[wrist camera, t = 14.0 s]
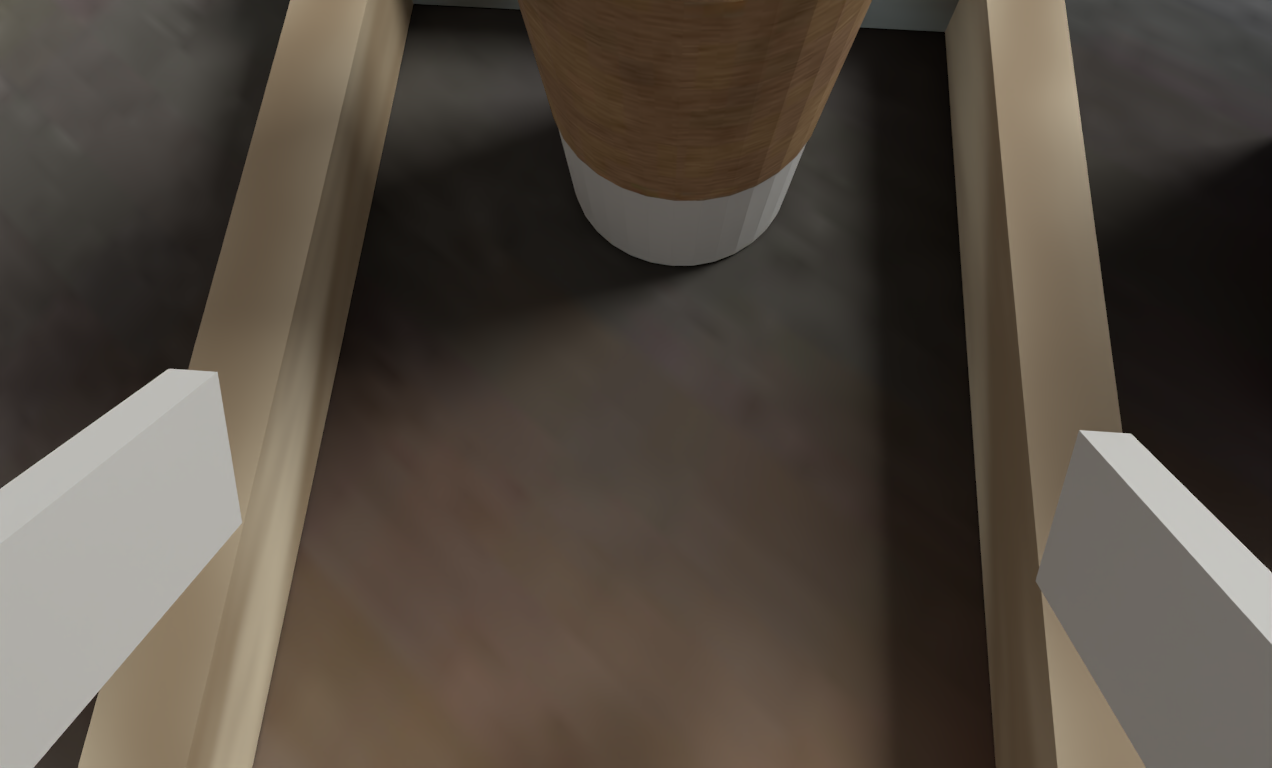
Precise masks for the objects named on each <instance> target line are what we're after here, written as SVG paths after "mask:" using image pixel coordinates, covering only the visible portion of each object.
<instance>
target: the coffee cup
mask: <svg viewBox="0 0 1272 768" xmlns="http://www.w3.org/2000/svg"><path fill="white" fill-rule="evenodd" d="M871 1H872V0H518V3H519V7H520V10H521V13H522V16H523V20H524V23H525V26H526V29H527V33H528V36H529V39H530V42H531V46H532V49H533V52H534V56H535V59H536V62H537V65H538V69H539V72H540V75H541V78H542V82H543V85H544V88H545V91H546V95H547V98H548V101H549V105H550V108H551V111H552V114H553V118H554V120H555V122H556V124H557V126H558V129H559V133H560V137H561V141H562V144H563V148H564V152H565V156H566V160H567V163H568V167H569V171H570V175H571V179H572V182H573V186H574V190H575V193H576V196H577V199H578V201H579V203H580V206H581V208H582V210H583V212H584V214H585V216H586V218H587V219H588V220H589V222H590V223H591V224H592V225H593V227H594V228H595V229H596V231H597V232H598V233H599V234H601V235H602V236H603V237H604V238H605V239H606V240H607V241H609V242H610V243H611V244H612V245H614V246H615V247H617V248H619V249H620V250H622V251H624V252H626V253H627V254H629V255H631V256H634V257H637V258H640V259H642V260H645V261H648V262H652V263H658V264H664V265H670V266H694V265H699V264H705V263H710V262H715V261H717V260H720V259H723V258H725V257H728V256H730V255H733V254H735V253H737V252H738V251H740V250H742V249H743V248H745V247H746V246H748V245H750V244H751V243H752V242H753V241H755V240H756V239H757V238H758V237H759V236H760V235H761V234H762V233H763V232H764V231H765V230H766V229H767V228H768V226H769V225H770V223H771V222H772V221H773V219H774V218H775V216H776V215H777V213H778V211H779V209H780V207H781V204H782V202H783V200H784V197H785V195H786V192H787V190H788V187H789V185H790V182H791V180H792V177H793V175H794V172H795V170H796V167H797V165H798V162H799V160H800V157H801V155H802V152H803V150H804V147H805V145H806V143H807V141H808V140H809V138H810V137H811V135H812V133H813V131H814V128H815V126H816V124H817V122H818V119H819V117H820V115H821V113H822V111H823V108H824V106H825V104H826V102H827V99H828V97H829V95H830V93H831V91H832V88H833V86H834V84H835V82H836V79H837V77H838V75H839V73H840V70H841V68H842V66H843V64H844V62H845V59H846V57H847V55H848V53H849V50H850V48H851V46H852V44H853V42H854V39H855V37H856V35H857V33H858V30H859V28H860V26H861V24H862V22H863V19H864V17H865V15H866V13H867V10H868V8H869V6H870V4H871Z"/></svg>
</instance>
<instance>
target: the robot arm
mask: <svg viewBox="0 0 1272 768" xmlns="http://www.w3.org/2000/svg"><path fill="white" fill-rule="evenodd" d="M241 524H242V518H241V512H240V506H239V500H238V494H237V488H236V482H235V476H234V469H233V463H232V457H231V451H230V445H229V439H228V433H227V427H226V421H225V414H224V408H223V402H222V396H221V390H220V384H219V378H218V372H212V371H197V370H182V369H168V370H166V371H165V372H163V373H162V374H161V375H159V376H158V377H156V378H155V379H154V380H152V381H151V382H149V383H148V384H147V385H145V386H144V387H142V388H141V389H140V390H138V391H137V392H135V393H134V394H133V395H131V396H130V397H128V398H127V399H126V400H124V401H123V402H121V403H120V404H119V405H117V406H116V407H114V408H113V409H112V410H110V411H109V412H107V413H106V414H105V415H103V416H102V417H100V418H99V419H98V420H96V421H95V422H93V423H92V424H90V425H89V426H88V427H86V428H85V429H83V430H82V431H81V432H79V433H78V434H76V435H75V436H74V437H72V438H71V439H69V440H68V441H67V442H65V443H64V444H62V445H61V446H60V447H58V448H57V449H55V450H54V451H53V452H51V453H50V454H48V455H47V456H46V457H44V458H43V459H41V460H40V461H39V462H37V463H36V464H34V465H33V466H32V467H30V468H29V469H27V470H26V471H25V472H23V473H22V474H20V475H19V476H17V477H16V478H15V479H13V480H12V481H10V482H9V483H8V484H6V485H5V486H3V487H2V488H1V489H0V768H34V767H35V765H36V764H37V763H38V762H39V761H40V760H41V758H42V757H43V756H44V755H45V754H46V753H47V751H48V750H49V749H50V748H51V747H52V745H53V744H54V743H55V742H56V741H57V740H58V738H59V737H60V736H61V735H62V734H63V733H64V731H65V730H66V729H67V728H68V727H69V726H70V724H71V723H72V722H73V721H74V720H75V718H76V717H77V716H78V715H79V714H80V713H81V711H82V710H83V709H84V708H85V707H86V706H87V704H88V703H89V702H90V701H91V700H92V699H93V697H94V696H95V695H96V694H97V693H98V691H99V690H100V689H101V688H102V687H103V686H104V684H105V683H106V682H107V681H108V680H109V679H110V677H111V676H112V675H113V674H114V673H115V672H116V670H117V669H118V668H119V667H120V666H121V665H122V663H123V662H124V661H125V660H126V659H127V657H128V656H129V655H130V654H131V653H132V652H133V650H134V649H135V648H136V647H137V646H138V645H139V643H140V642H141V641H142V640H143V639H144V638H145V636H146V635H147V634H148V633H149V632H150V630H151V629H152V628H153V627H154V626H155V625H156V623H157V622H158V621H159V620H160V619H161V618H162V616H163V615H164V614H165V613H166V612H167V611H168V609H169V608H170V607H171V606H172V605H173V603H174V602H175V601H176V600H177V599H178V598H179V596H180V595H181V594H182V593H183V592H184V591H185V589H186V588H187V587H188V586H189V585H190V584H191V582H192V581H193V580H194V579H195V578H196V576H197V575H198V574H199V573H200V572H201V571H202V569H203V568H204V567H205V566H206V565H207V564H208V562H209V561H210V560H211V559H212V558H213V557H214V555H215V554H216V553H217V552H218V551H219V550H220V548H221V547H222V546H223V545H224V544H225V542H226V541H227V540H228V539H229V538H230V537H231V535H232V534H233V533H234V532H235V531H236V530H237V528H238V527H239V526H240V525H241ZM1036 583H1037V584H1038V586H1039V588H1040V589H1041V591H1042V593H1043V594H1044V596H1045V598H1046V600H1047V601H1048V603H1049V605H1050V606H1051V608H1052V610H1053V611H1054V613H1055V615H1056V616H1057V618H1058V620H1059V621H1060V623H1061V625H1062V627H1063V628H1064V630H1065V632H1066V633H1067V635H1068V637H1069V638H1070V640H1071V642H1072V643H1073V645H1074V647H1075V648H1076V650H1077V652H1078V654H1079V655H1080V657H1081V659H1082V660H1083V662H1084V664H1085V665H1086V667H1087V669H1088V670H1089V672H1090V674H1091V676H1092V677H1093V679H1094V681H1095V682H1096V684H1097V686H1098V687H1099V689H1100V691H1101V692H1102V694H1103V696H1104V697H1105V699H1106V701H1107V703H1108V704H1109V706H1110V708H1111V709H1112V711H1113V713H1114V714H1115V716H1116V718H1117V719H1118V721H1119V723H1120V724H1121V726H1122V728H1123V730H1124V731H1125V733H1126V735H1127V736H1128V738H1129V740H1130V741H1131V743H1132V745H1133V746H1134V748H1135V750H1136V751H1137V753H1138V755H1139V757H1140V758H1141V760H1142V762H1143V763H1144V765H1145V767H1146V768H1272V572H1271V571H1270V570H1269V569H1268V568H1267V567H1266V566H1265V565H1263V564H1262V563H1261V562H1260V561H1259V560H1258V559H1257V558H1256V557H1255V556H1254V555H1253V554H1252V553H1251V552H1250V551H1249V550H1248V549H1247V548H1246V547H1245V546H1244V545H1243V544H1242V543H1241V542H1240V541H1239V540H1238V539H1237V538H1236V537H1235V536H1234V535H1233V534H1232V533H1231V532H1230V531H1229V530H1228V529H1227V528H1226V527H1225V526H1224V525H1223V524H1222V523H1221V522H1220V521H1219V520H1218V519H1217V518H1216V517H1215V516H1214V515H1213V514H1212V513H1211V512H1210V511H1209V510H1208V509H1207V508H1206V507H1205V506H1204V505H1203V504H1202V503H1201V502H1200V501H1199V500H1198V499H1197V498H1196V497H1195V496H1194V495H1193V494H1192V493H1191V492H1190V491H1189V490H1188V489H1187V488H1186V487H1185V486H1184V485H1183V484H1182V483H1181V482H1180V481H1179V480H1178V479H1176V478H1175V477H1174V476H1173V475H1172V474H1171V473H1170V472H1169V471H1168V470H1167V469H1166V468H1165V467H1164V466H1163V465H1162V464H1161V463H1160V462H1159V461H1158V460H1157V459H1156V458H1155V457H1154V456H1153V455H1152V454H1151V453H1150V452H1149V451H1148V450H1147V449H1146V448H1145V447H1144V446H1143V445H1142V444H1141V443H1140V442H1139V441H1138V440H1137V439H1136V438H1135V437H1134V436H1133V435H1132V434H1130V433H1115V432H1100V431H1085V430H1079V432H1078V435H1077V439H1076V442H1075V446H1074V449H1073V453H1072V456H1071V460H1070V463H1069V467H1068V470H1067V474H1066V477H1065V480H1064V484H1063V487H1062V491H1061V494H1060V498H1059V501H1058V505H1057V508H1056V512H1055V515H1054V519H1053V522H1052V525H1051V529H1050V532H1049V536H1048V539H1047V543H1046V546H1045V550H1044V553H1043V557H1042V560H1041V563H1040V567H1039V570H1038V574H1037V577H1036Z"/></svg>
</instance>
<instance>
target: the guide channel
mask: <svg viewBox="0 0 1272 768" xmlns="http://www.w3.org/2000/svg"><path fill="white" fill-rule="evenodd" d="M413 4H427V5H446V6H465V7H483V8H502V9H520V7H519V3H518V0H290V3H289V7H288V10H287V14H286V18H285V21H284V25H283V28H282V32H281V36H280V39H279V43H278V46H277V50H276V54H275V57H274V61H273V64H272V68H271V72H270V75H269V79H268V83H267V86H266V90H265V93H264V97H263V101H262V104H261V108H260V111H259V115H258V119H257V122H256V126H255V129H254V133H253V137H252V140H251V144H250V147H249V151H248V155H247V158H246V162H245V166H244V169H243V173H242V176H241V180H240V184H239V187H238V191H237V194H236V198H235V202H234V205H233V209H232V212H231V216H230V220H229V223H228V227H227V231H226V234H225V238H224V241H223V245H222V249H221V252H220V256H219V259H218V263H217V267H216V270H215V274H214V277H213V281H212V285H211V288H210V292H209V296H208V299H207V303H206V306H205V310H204V314H203V317H202V321H201V324H200V328H199V332H198V335H197V339H196V342H195V346H194V350H193V353H192V357H191V360H190V364H189V368H188V370H197V371H212V372H218V378H219V384H220V390H221V396H222V402H223V408H224V414H225V421H226V427H227V433H228V439H229V445H230V451H231V457H232V463H233V469H234V476H235V482H236V488H237V494H238V500H239V506H240V512H241V518H242V524H241V525H240V526H239V527H238V528H237V530H236V531H235V532H234V533H233V534H232V535H231V537H230V538H229V539H228V540H227V541H226V542H225V544H224V545H223V546H222V547H221V548H220V550H219V551H218V552H217V553H216V554H215V555H214V557H213V558H212V559H211V560H210V561H209V562H208V564H207V565H206V566H205V567H204V568H203V569H202V571H201V572H200V573H199V574H198V575H197V576H196V578H195V579H194V580H193V581H192V582H191V584H190V585H189V586H188V587H187V588H186V589H185V591H184V592H183V593H182V594H181V595H180V596H179V598H178V599H177V600H176V601H175V602H174V603H173V605H172V606H171V607H170V608H169V609H168V611H167V612H166V613H165V614H164V615H163V616H162V618H161V619H160V620H159V621H158V622H157V623H156V625H155V626H154V627H153V628H152V629H151V630H150V632H149V633H148V634H147V635H146V636H145V638H144V639H143V640H142V641H141V642H140V643H139V645H138V646H137V647H136V648H135V649H134V650H133V652H132V653H131V654H130V655H129V656H128V657H127V659H126V660H125V661H124V662H123V663H122V665H121V666H120V667H119V668H118V669H117V670H116V672H115V673H114V674H113V675H112V676H111V677H110V679H109V680H108V681H107V682H106V683H105V684H104V686H103V687H102V688H101V689H100V690H99V693H98V696H97V700H96V703H95V707H94V711H93V714H92V718H91V721H90V725H89V729H88V732H87V736H86V740H85V743H84V747H83V750H82V754H81V758H80V761H79V765H78V768H252V766H253V762H254V757H255V752H256V748H257V743H258V738H259V733H260V729H261V724H262V719H263V714H264V710H265V705H266V700H267V695H268V691H269V686H270V681H271V676H272V672H273V667H274V662H275V658H276V653H277V648H278V643H279V639H280V634H281V629H282V624H283V620H284V615H285V610H286V605H287V601H288V596H289V591H290V587H291V582H292V577H293V572H294V568H295V563H296V558H297V553H298V549H299V544H300V539H301V534H302V530H303V525H304V520H305V516H306V511H307V506H308V501H309V497H310V492H311V487H312V482H313V478H314V473H315V468H316V463H317V459H318V454H319V449H320V445H321V440H322V435H323V430H324V426H325V421H326V416H327V411H328V407H329V402H330V397H331V392H332V388H333V383H334V378H335V373H336V369H337V364H338V359H339V355H340V350H341V345H342V340H343V336H344V331H345V326H346V321H347V317H348V312H349V307H350V302H351V298H352V293H353V288H354V284H355V279H356V274H357V269H358V265H359V260H360V255H361V250H362V246H363V241H364V236H365V231H366V227H367V222H368V217H369V213H370V208H371V203H372V198H373V194H374V189H375V184H376V179H377V175H378V170H379V165H380V160H381V156H382V151H383V146H384V142H385V137H386V132H387V127H388V123H389V118H390V113H391V108H392V104H393V99H394V94H395V89H396V85H397V80H398V75H399V70H400V66H401V61H402V56H403V52H404V47H405V42H406V37H407V33H408V28H409V23H410V18H411V14H412V9H413ZM860 27H862V28H881V29H900V30H919V31H938V32H945V39H946V54H947V68H948V83H949V97H950V112H951V126H952V141H953V155H954V170H955V184H956V199H957V213H958V228H959V242H960V257H961V271H962V286H963V300H964V315H965V329H966V343H967V358H968V372H969V387H970V401H971V416H972V430H973V445H974V459H975V474H976V488H977V503H978V517H979V532H980V546H981V561H982V575H983V590H984V604H985V619H986V633H987V648H988V662H989V677H990V691H991V706H992V720H993V735H994V749H995V764H996V768H1146V767H1145V765H1144V763H1143V762H1142V760H1141V758H1140V757H1139V755H1138V753H1137V751H1136V750H1135V748H1134V746H1133V745H1132V743H1131V741H1130V740H1129V738H1128V736H1127V735H1126V733H1125V731H1124V730H1123V728H1122V726H1121V724H1120V723H1119V721H1118V719H1117V718H1116V716H1115V714H1114V713H1113V711H1112V709H1111V708H1110V706H1109V704H1108V703H1107V701H1106V699H1105V697H1104V696H1103V694H1102V692H1101V691H1100V689H1099V687H1098V686H1097V684H1096V682H1095V681H1094V679H1093V677H1092V676H1091V674H1090V672H1089V670H1088V669H1087V667H1086V665H1085V664H1084V662H1083V660H1082V659H1081V657H1080V655H1079V654H1078V652H1077V650H1076V648H1075V647H1074V645H1073V643H1072V642H1071V640H1070V638H1069V637H1068V635H1067V633H1066V632H1065V630H1064V628H1063V627H1062V625H1061V623H1060V621H1059V620H1058V618H1057V616H1056V615H1055V613H1054V611H1053V610H1052V608H1051V606H1050V605H1049V603H1048V601H1047V600H1046V598H1045V596H1044V594H1043V593H1042V591H1041V589H1040V588H1039V586H1038V584H1037V583H1036V577H1037V574H1038V570H1039V567H1040V563H1041V560H1042V557H1043V553H1044V550H1045V546H1046V543H1047V539H1048V536H1049V532H1050V529H1051V525H1052V522H1053V519H1054V515H1055V512H1056V508H1057V505H1058V501H1059V498H1060V494H1061V491H1062V487H1063V484H1064V480H1065V477H1066V474H1067V470H1068V467H1069V463H1070V460H1071V456H1072V453H1073V449H1074V446H1075V442H1076V439H1077V435H1078V432H1079V430H1085V431H1100V432H1115V433H1122V426H1121V418H1120V411H1119V403H1118V396H1117V388H1116V381H1115V373H1114V366H1113V358H1112V351H1111V343H1110V336H1109V328H1108V321H1107V314H1106V306H1105V299H1104V291H1103V284H1102V276H1101V269H1100V261H1099V254H1098V246H1097V239H1096V231H1095V224H1094V216H1093V209H1092V201H1091V194H1090V186H1089V179H1088V171H1087V164H1086V156H1085V149H1084V141H1083V134H1082V126H1081V119H1080V111H1079V104H1078V97H1077V89H1076V82H1075V74H1074V67H1073V59H1072V52H1071V44H1070V37H1069V29H1068V22H1067V14H1066V7H1065V0H872V1H871V4H870V6H869V8H868V10H867V13H866V15H865V17H864V19H863V22H862V24H861V26H860Z"/></svg>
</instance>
